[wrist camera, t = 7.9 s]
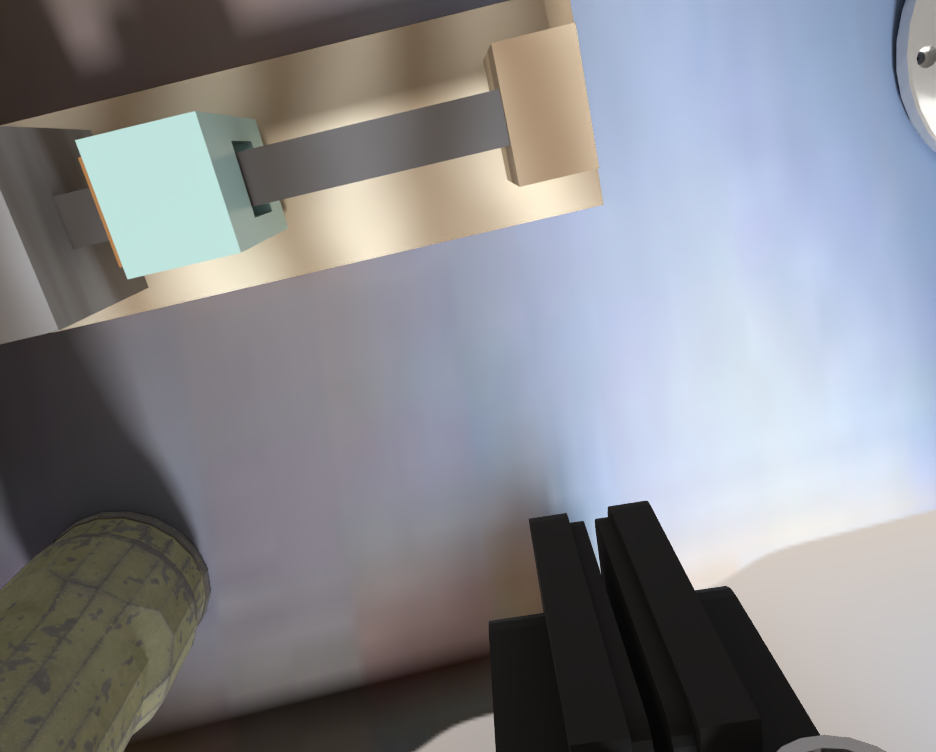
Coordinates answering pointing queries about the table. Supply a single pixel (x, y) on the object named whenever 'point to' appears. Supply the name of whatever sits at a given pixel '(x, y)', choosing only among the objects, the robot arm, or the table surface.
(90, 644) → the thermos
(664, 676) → the robot arm
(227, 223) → the mint green boxy block
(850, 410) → the table surface
